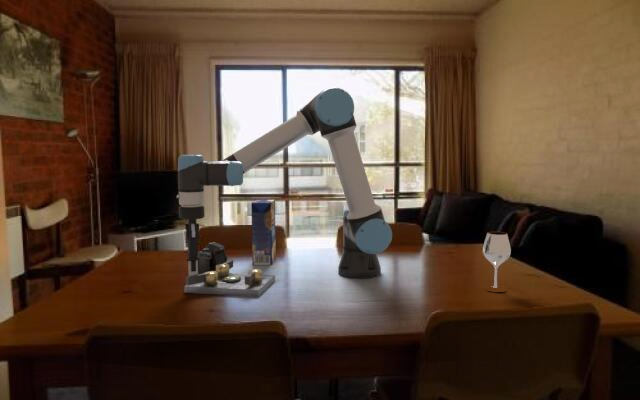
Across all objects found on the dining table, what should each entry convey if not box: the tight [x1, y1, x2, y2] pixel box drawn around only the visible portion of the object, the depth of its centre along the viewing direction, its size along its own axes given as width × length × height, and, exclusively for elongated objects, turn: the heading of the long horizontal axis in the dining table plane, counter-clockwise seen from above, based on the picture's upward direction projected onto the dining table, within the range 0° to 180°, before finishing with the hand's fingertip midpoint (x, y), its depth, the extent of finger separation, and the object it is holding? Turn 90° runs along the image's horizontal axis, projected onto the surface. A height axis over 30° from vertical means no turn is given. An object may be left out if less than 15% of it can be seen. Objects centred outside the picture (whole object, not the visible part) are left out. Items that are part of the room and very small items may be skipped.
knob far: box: [215, 259, 234, 277], centre depth 164 cm, size 10×4×3 cm, turn 170°
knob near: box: [185, 270, 218, 286], centre depth 149 cm, size 10×4×3 cm, turn 132°
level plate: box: [183, 272, 276, 298], centre depth 155 cm, size 24×18×3 cm
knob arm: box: [245, 268, 263, 285], centre depth 151 cm, size 10×4×3 cm, turn 170°
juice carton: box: [250, 199, 277, 266], centre depth 190 cm, size 12×8×24 cm, turn 178°
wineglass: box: [482, 231, 512, 288], centre depth 150 cm, size 8×8×18 cm
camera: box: [198, 241, 228, 274], centre depth 178 cm, size 13×10×10 cm
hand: (193, 280), depth 149 cm, fingers closed
